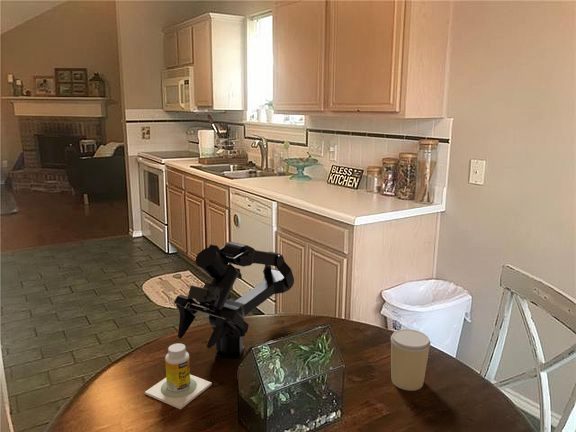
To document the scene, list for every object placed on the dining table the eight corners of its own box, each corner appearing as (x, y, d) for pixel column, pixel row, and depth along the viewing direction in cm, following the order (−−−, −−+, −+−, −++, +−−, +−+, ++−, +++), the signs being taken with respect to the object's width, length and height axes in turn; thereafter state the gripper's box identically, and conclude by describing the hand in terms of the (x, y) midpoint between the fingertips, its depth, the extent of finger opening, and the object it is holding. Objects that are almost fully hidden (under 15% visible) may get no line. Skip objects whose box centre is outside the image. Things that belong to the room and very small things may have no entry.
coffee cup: (429, 376, 119) (433, 333, 116) (423, 396, 111) (427, 350, 108) (392, 367, 123) (395, 325, 120) (383, 386, 115) (386, 341, 112)
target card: (177, 371, 120) (177, 369, 120) (211, 384, 115) (211, 382, 115) (145, 394, 111) (144, 391, 111) (180, 409, 105) (180, 406, 105)
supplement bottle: (180, 395, 109) (178, 356, 107) (161, 388, 112) (159, 349, 109) (195, 383, 114) (193, 345, 111) (177, 376, 116) (175, 339, 114)
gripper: (177, 264, 120) (146, 321, 114) (236, 279, 111) (207, 341, 104) (198, 284, 129) (171, 337, 122) (255, 298, 120) (229, 357, 113)
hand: (193, 342), depth 115 cm, fingers open, 9 cm apart
